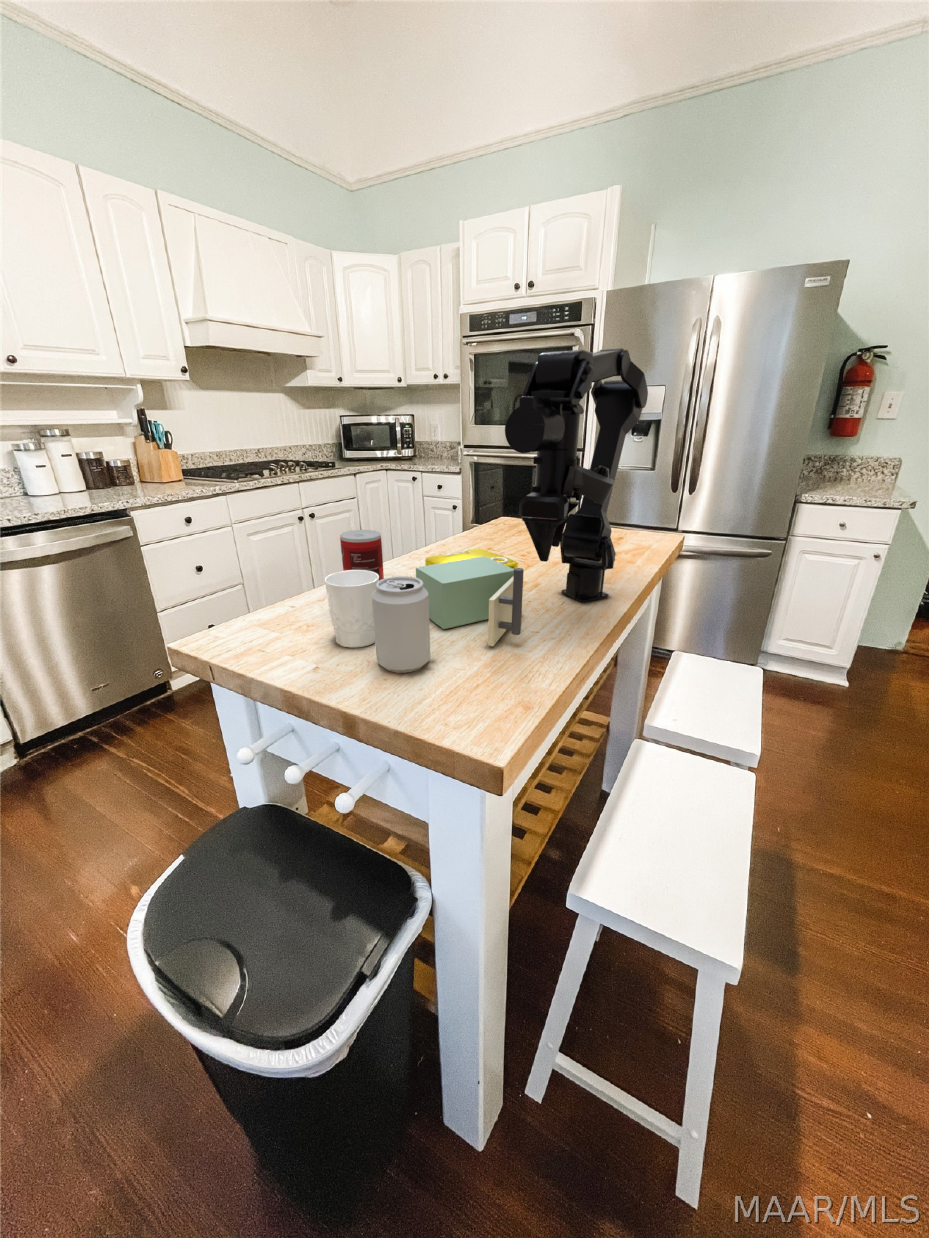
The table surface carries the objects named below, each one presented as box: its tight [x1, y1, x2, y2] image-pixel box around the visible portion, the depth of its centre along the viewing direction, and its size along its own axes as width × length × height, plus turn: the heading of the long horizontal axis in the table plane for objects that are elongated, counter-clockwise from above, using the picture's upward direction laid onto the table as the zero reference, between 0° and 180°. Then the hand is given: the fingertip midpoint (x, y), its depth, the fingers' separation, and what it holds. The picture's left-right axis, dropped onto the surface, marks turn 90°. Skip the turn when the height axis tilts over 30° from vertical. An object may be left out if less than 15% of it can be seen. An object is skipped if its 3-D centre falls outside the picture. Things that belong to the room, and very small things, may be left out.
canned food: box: [339, 529, 385, 581], centre depth 97 cm, size 8×8×11 cm
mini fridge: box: [415, 556, 514, 630], centre depth 86 cm, size 14×10×8 cm
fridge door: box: [487, 567, 525, 647], centre depth 77 cm, size 14×4×12 cm, turn 158°
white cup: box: [324, 570, 379, 649], centre depth 76 cm, size 8×8×10 cm
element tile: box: [424, 547, 519, 569], centre depth 103 cm, size 15×15×5 cm
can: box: [372, 575, 431, 674], centre depth 68 cm, size 8×8×12 cm
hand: (549, 553), depth 78 cm, fingers open, 9 cm apart
